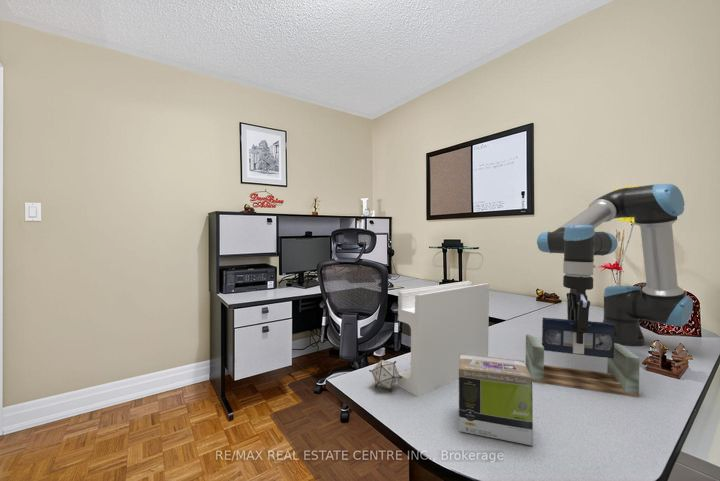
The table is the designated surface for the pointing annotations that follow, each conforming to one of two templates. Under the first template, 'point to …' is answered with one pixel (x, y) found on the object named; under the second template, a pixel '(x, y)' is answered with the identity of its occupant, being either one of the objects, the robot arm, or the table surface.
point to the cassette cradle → (616, 380)
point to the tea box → (495, 398)
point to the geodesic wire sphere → (385, 374)
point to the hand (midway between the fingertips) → (576, 351)
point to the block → (442, 331)
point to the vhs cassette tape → (561, 337)
